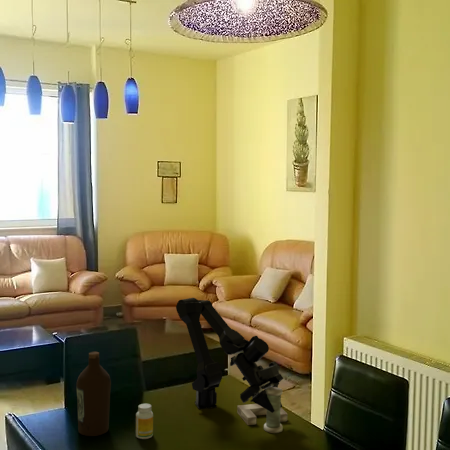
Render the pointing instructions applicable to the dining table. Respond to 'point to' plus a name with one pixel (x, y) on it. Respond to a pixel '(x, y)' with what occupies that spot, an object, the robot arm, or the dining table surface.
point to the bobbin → (274, 418)
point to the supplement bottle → (144, 422)
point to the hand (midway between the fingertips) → (277, 409)
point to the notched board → (255, 413)
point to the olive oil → (93, 398)
